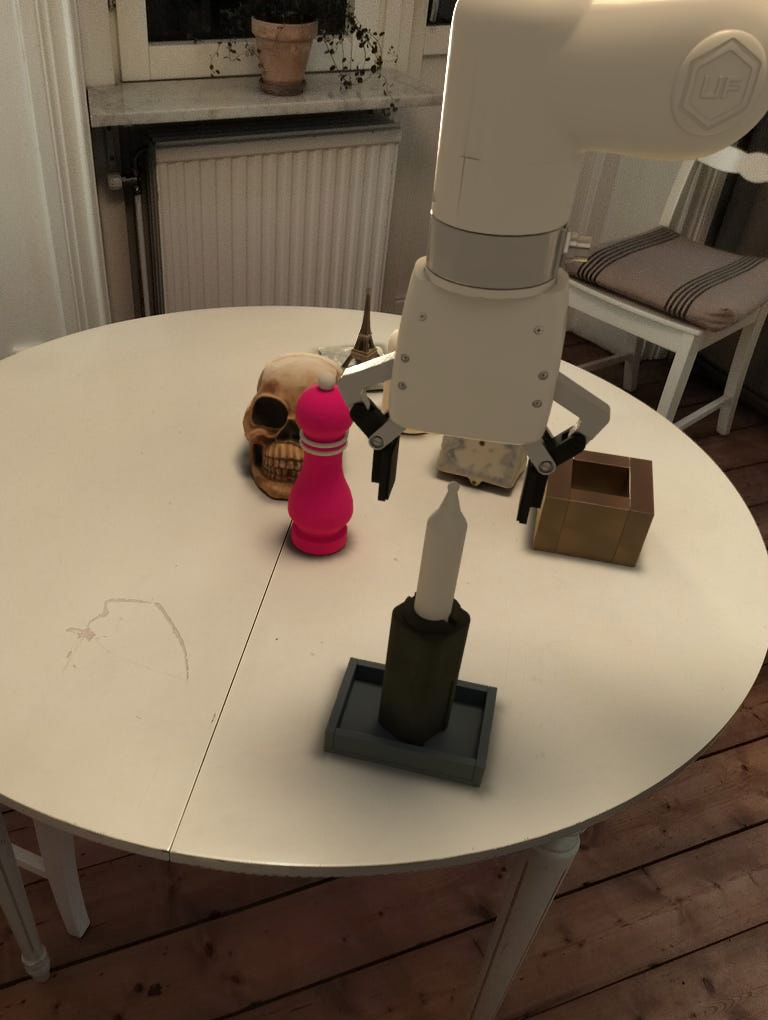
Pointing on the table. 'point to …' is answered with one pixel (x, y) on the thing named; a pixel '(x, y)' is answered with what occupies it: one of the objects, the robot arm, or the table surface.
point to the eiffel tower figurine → (357, 347)
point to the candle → (428, 635)
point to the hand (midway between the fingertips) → (453, 501)
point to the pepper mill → (321, 470)
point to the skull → (281, 419)
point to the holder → (597, 508)
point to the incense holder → (482, 460)
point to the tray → (441, 756)
